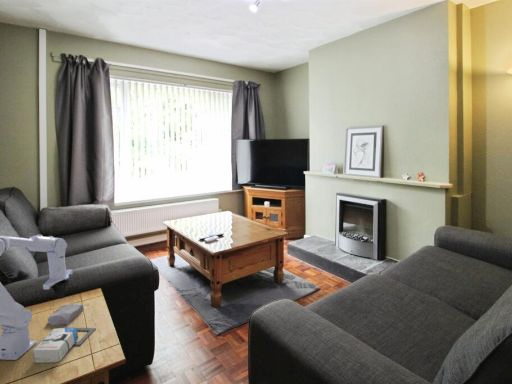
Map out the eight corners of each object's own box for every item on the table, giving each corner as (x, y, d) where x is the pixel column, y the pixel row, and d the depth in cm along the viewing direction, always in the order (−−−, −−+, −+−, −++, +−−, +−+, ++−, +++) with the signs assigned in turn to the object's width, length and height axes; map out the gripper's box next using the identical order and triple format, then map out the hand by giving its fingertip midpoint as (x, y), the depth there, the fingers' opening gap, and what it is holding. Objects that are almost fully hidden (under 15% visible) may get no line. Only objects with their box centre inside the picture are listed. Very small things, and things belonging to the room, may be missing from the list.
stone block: (46, 329, 123) (70, 324, 123) (43, 318, 122) (66, 313, 122) (64, 314, 135) (86, 310, 135) (61, 304, 134) (83, 300, 134)
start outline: (80, 345, 110) (80, 344, 110) (43, 344, 111) (43, 343, 111) (95, 329, 120) (95, 328, 120) (62, 328, 120) (61, 327, 120)
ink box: (77, 327, 112) (58, 349, 101) (78, 338, 113) (59, 362, 101) (53, 327, 112) (31, 350, 100) (55, 339, 113) (34, 363, 101)
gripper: (54, 274, 115) (57, 307, 117) (78, 259, 129) (81, 289, 131) (36, 273, 115) (40, 306, 117) (62, 259, 129) (65, 289, 131)
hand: (60, 297), depth 124 cm, fingers closed
